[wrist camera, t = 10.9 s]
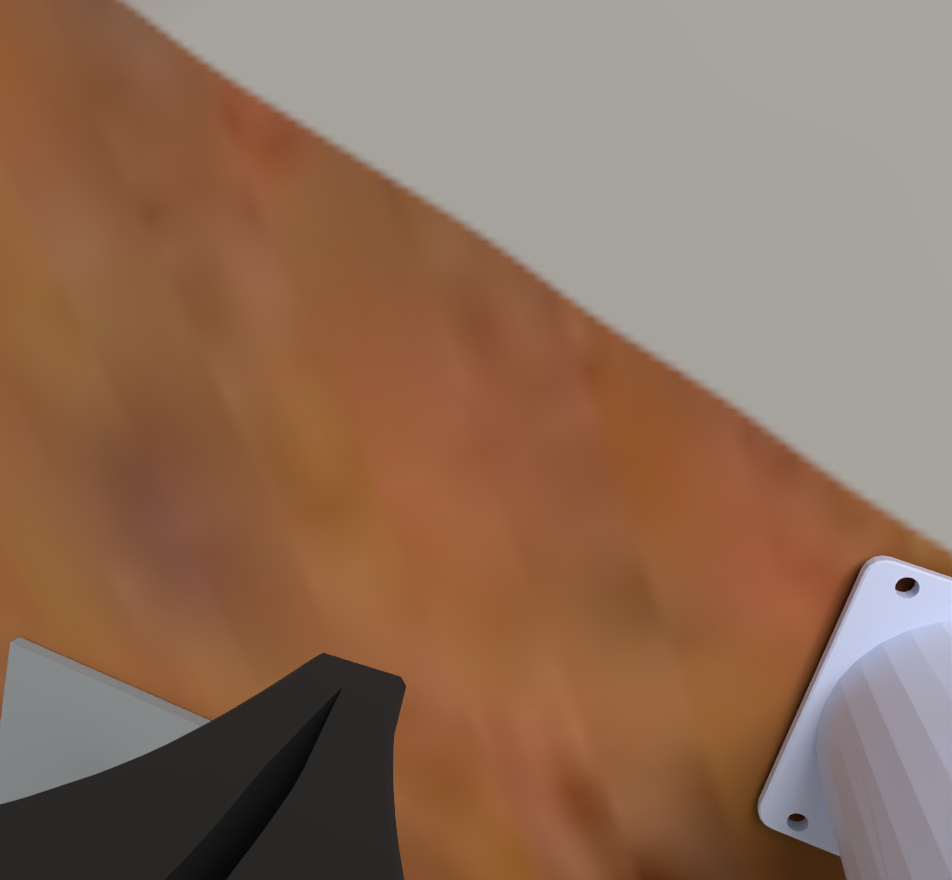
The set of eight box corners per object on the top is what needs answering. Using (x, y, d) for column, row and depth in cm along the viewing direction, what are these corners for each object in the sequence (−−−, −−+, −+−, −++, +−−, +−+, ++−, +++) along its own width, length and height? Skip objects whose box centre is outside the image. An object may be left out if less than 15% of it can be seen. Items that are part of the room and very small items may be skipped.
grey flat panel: (364, 788, 25) (359, 796, 24) (293, 1043, 28) (287, 1054, 27) (19, 636, 27) (10, 642, 27) (-13, 887, 30) (-22, 895, 30)
